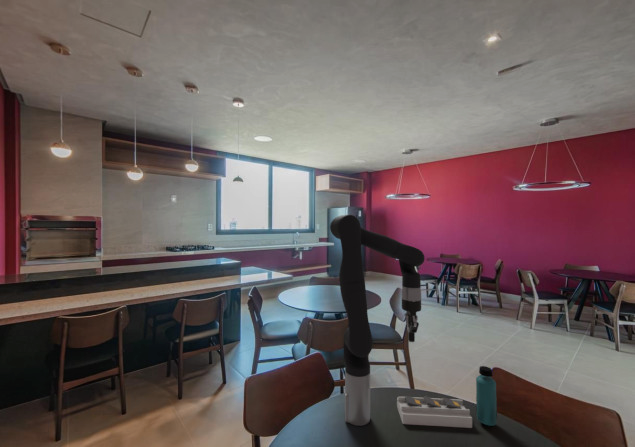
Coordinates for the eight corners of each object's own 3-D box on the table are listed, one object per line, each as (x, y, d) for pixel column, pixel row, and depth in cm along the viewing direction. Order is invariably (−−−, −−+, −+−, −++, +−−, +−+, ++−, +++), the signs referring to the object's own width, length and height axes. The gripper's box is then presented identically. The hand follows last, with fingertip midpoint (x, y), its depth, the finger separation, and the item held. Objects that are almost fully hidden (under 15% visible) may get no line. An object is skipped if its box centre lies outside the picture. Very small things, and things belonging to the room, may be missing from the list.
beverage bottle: (500, 431, 98) (500, 373, 99) (479, 429, 100) (479, 371, 100) (492, 419, 105) (492, 364, 105) (473, 416, 106) (472, 362, 106)
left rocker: (407, 404, 105) (408, 401, 105) (404, 397, 109) (405, 395, 109) (421, 409, 104) (422, 406, 104) (418, 402, 109) (419, 399, 109)
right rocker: (446, 406, 104) (447, 403, 104) (442, 399, 108) (443, 396, 108) (461, 411, 103) (461, 408, 103) (456, 403, 108) (456, 401, 108)
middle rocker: (427, 405, 104) (428, 402, 104) (423, 397, 109) (424, 395, 109) (440, 411, 104) (441, 408, 104) (436, 403, 108) (437, 401, 108)
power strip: (402, 423, 102) (402, 409, 102) (397, 406, 112) (397, 393, 112) (472, 427, 100) (472, 413, 100) (460, 409, 110) (460, 396, 110)
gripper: (398, 293, 121) (398, 334, 121) (405, 301, 108) (405, 347, 108) (416, 294, 121) (416, 335, 120) (425, 302, 107) (425, 348, 107)
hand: (411, 341), depth 114 cm, fingers closed
